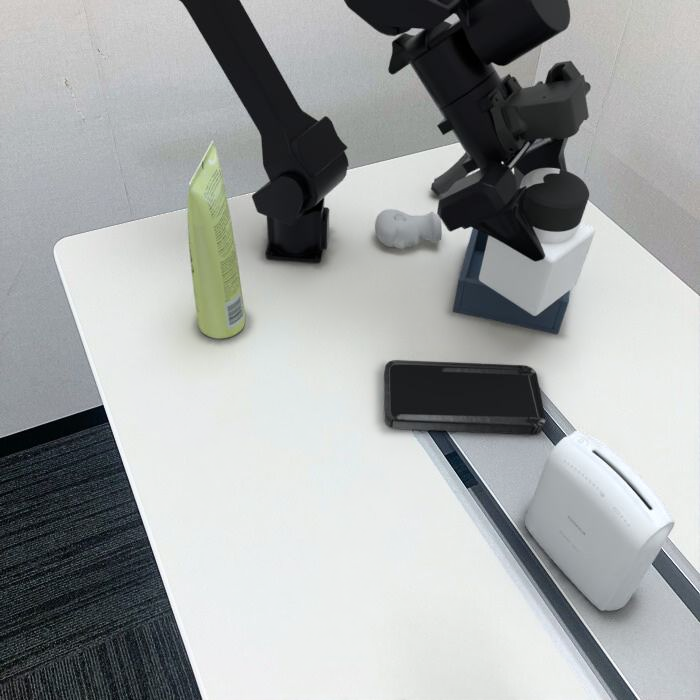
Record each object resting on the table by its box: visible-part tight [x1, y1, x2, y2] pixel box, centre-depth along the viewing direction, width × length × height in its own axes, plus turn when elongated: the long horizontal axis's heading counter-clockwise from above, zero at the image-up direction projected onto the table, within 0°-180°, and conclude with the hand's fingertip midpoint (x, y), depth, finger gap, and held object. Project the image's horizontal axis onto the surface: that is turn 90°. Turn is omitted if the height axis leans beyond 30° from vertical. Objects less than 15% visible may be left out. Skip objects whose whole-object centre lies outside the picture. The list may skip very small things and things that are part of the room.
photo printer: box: [524, 430, 676, 612], centre depth 57 cm, size 10×4×12 cm, turn 32°
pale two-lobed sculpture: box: [374, 208, 443, 250], centre depth 89 cm, size 4×8×5 cm
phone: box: [383, 359, 546, 435], centre depth 73 cm, size 8×1×15 cm
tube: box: [186, 139, 246, 339], centre depth 73 cm, size 6×5×20 cm
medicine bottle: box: [479, 168, 596, 316], centre depth 71 cm, size 7×7×12 cm
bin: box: [452, 228, 571, 335], centre depth 83 cm, size 11×11×5 cm
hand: (556, 235), depth 70 cm, fingers closed on medicine bottle, 8 cm apart
